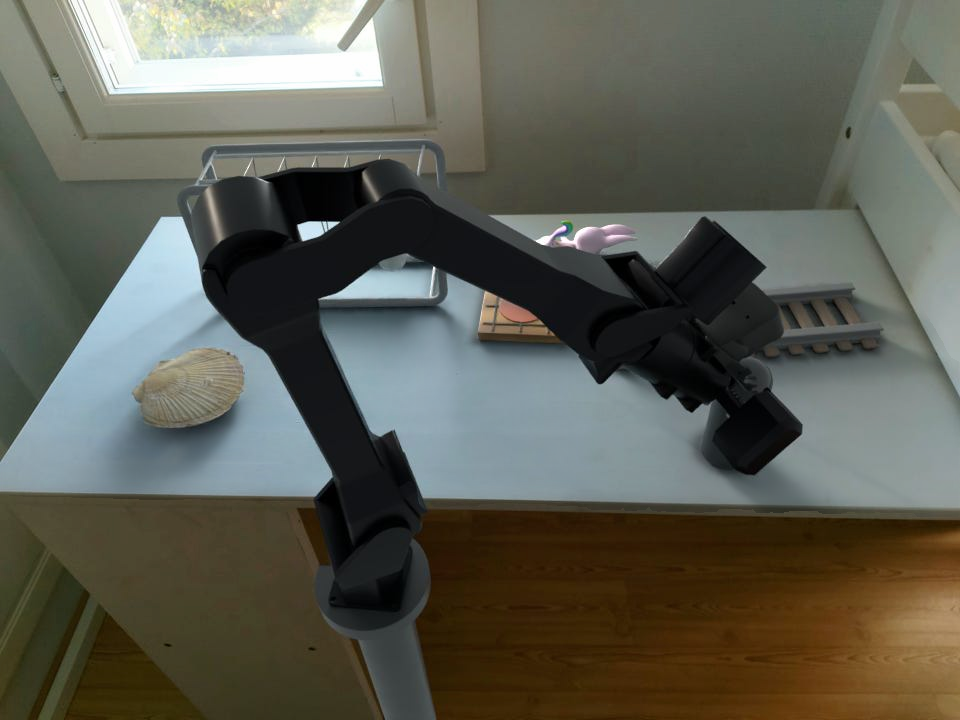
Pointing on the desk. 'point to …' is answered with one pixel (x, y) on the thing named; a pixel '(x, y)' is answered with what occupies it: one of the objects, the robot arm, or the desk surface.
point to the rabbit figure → (589, 237)
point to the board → (511, 323)
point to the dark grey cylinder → (750, 379)
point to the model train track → (832, 330)
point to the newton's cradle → (386, 264)
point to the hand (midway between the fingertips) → (750, 402)
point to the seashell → (190, 388)
